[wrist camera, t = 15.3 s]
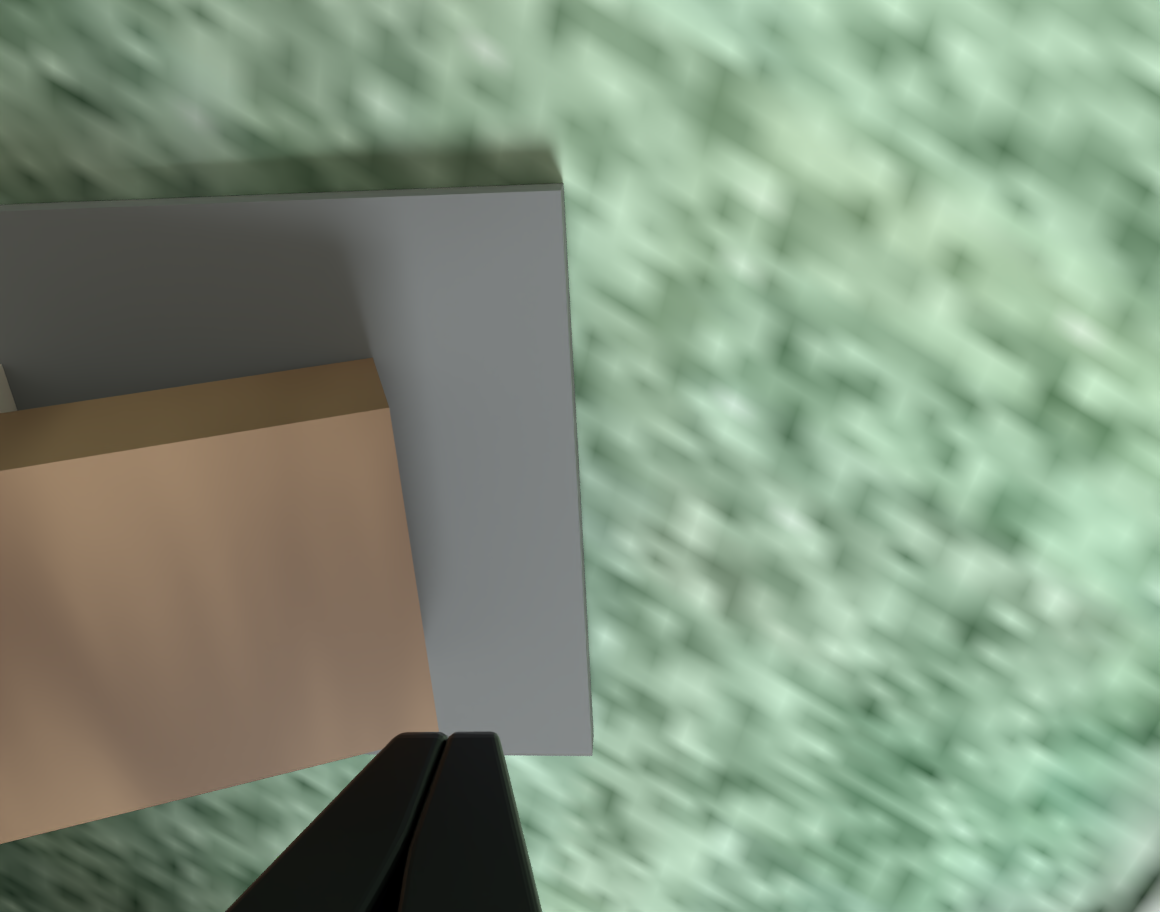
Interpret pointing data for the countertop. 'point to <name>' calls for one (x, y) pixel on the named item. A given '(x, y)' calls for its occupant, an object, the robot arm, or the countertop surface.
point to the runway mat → (406, 370)
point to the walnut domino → (201, 592)
